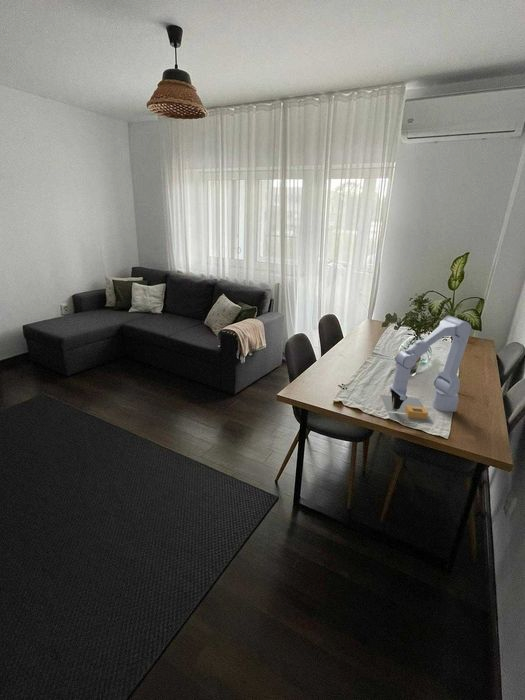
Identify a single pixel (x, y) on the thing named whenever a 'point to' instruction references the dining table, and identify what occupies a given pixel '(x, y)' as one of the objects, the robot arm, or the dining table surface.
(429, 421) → the floor panel
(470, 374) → the dining table surface
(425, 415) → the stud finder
